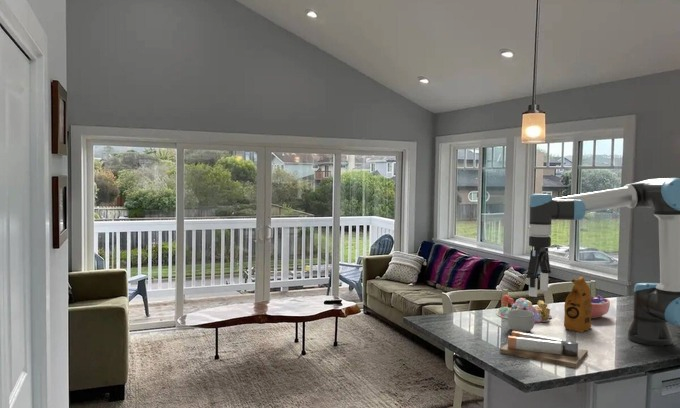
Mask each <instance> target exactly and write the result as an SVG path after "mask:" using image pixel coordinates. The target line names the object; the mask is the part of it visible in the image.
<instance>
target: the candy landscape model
mask: <svg viewBox="0 0 680 408" xmlns="http://www.w3.org/2000/svg"><path fill="white" fill-rule="evenodd" d="M501 301H502V306H503V307H502V306H501V307H499V308H498V310H497V311H496V313H495V314H496V315H497V316H498V317H499V318H502V319H505V320H508V316H507V312H508V311H511V310H513V309H517V310H527V311H531V312H533V313H534V324H535V323H545V322H547V323H548V322H550V321H551V318H552V317H553V316H552V315H550V313H551V309H550V308H549V307H548V304H547V303H546V302H545V301H544V300H542V299H541V300H540V299H539V300H538V301H537V302H536V303H537V305H536V306H534V305H533V303H532V302H531V301H530V300H528V299H526V298H525V297H519V298H518V299H516V300H515V301H514V298H512V297H511V296H510V295H508V294H503V296H502V297H501ZM508 304H509V305H510V306H511V307H510V308H509V306H508Z"/></svg>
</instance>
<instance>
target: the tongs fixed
mask: <svg viewBox="0 0 680 408" xmlns="http://www.w3.org/2000/svg"><path fill="white" fill-rule="evenodd" d="M510 336H515V337H522V338H531V339H540V340H548V341H557V342H561V352H562V354H563V355H565V356H570V357H576V356H578V349H579V342H576V341H573V340H564V339H560V338H555V337H549V336H546V335H545V336H543V335H540V334H539V335H538V334H532V333H529V332H526V333H522V332H517V331H513V330H512V331H511V335H510Z"/></svg>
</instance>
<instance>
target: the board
mask: <svg viewBox="0 0 680 408" xmlns="http://www.w3.org/2000/svg"><path fill="white" fill-rule="evenodd" d="M588 351H589V350H588V349H584V348H578V356H576V357H570V356H565V355H563V354H562V352H561V355H559V354H551V353H543V352H535V351H527V350H519V349H509V348H508V342H507V343H506V344H504V345H503V346H502V347H501V348H500V351H499V354H506V355H509V356H515V357H519V358H524V359H529V360H534V361H539V362H545V363H549V364H553V365H554V364H555V365H559V366H564V367H567V368H568V367H569V368H574V369H577V368H578V367H579V365H581V363H582V361H584V360H585V358H586V357H587V356H588Z"/></svg>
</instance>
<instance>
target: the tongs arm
mask: <svg viewBox="0 0 680 408" xmlns="http://www.w3.org/2000/svg"><path fill="white" fill-rule="evenodd" d="M507 343H508V348H509V349H519V350H527V351H535V352H543V353H551V354H559V355H561V342H557V341H548V340H540V339H531V338H522V337H515V336H511V335H508V336H507Z"/></svg>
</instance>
